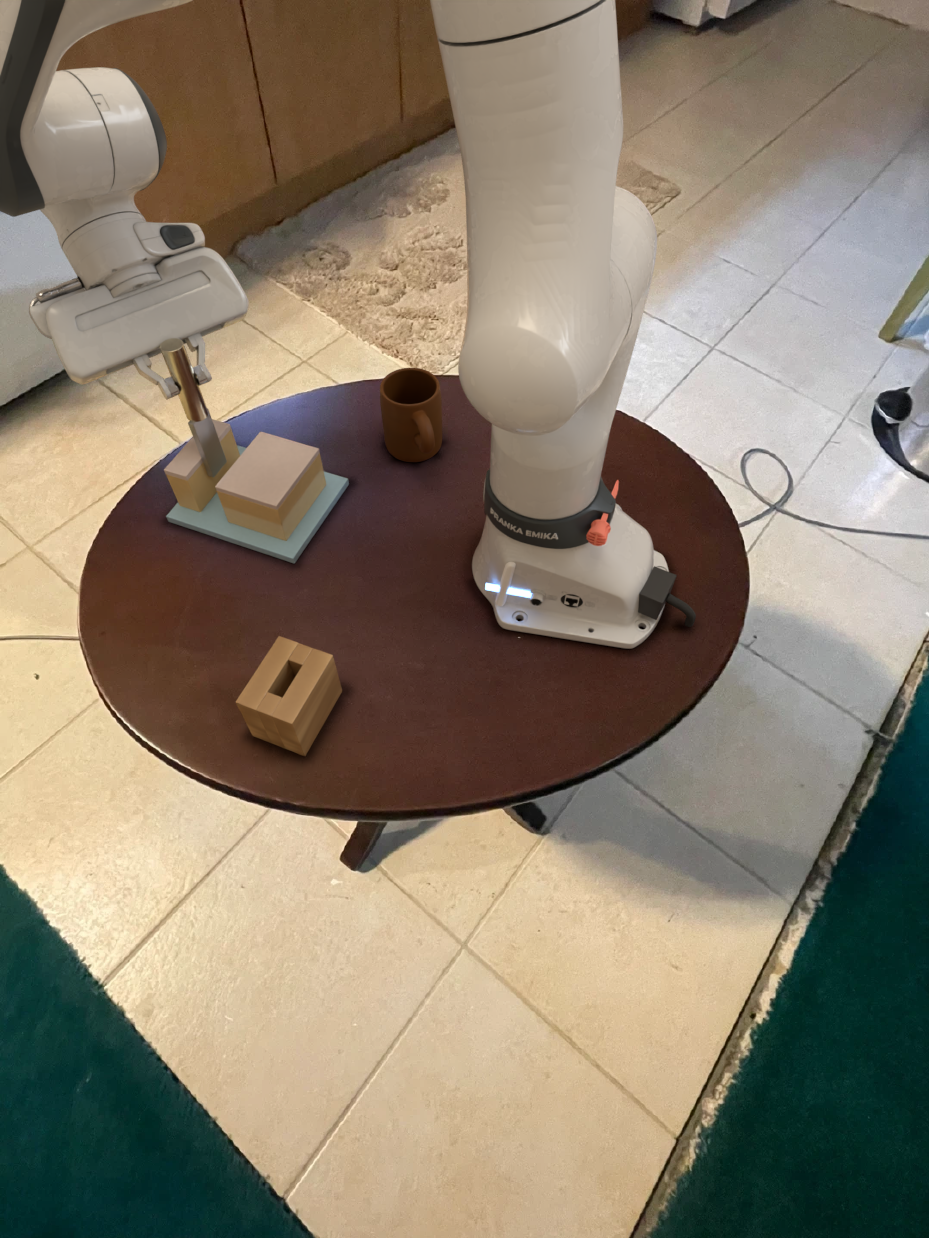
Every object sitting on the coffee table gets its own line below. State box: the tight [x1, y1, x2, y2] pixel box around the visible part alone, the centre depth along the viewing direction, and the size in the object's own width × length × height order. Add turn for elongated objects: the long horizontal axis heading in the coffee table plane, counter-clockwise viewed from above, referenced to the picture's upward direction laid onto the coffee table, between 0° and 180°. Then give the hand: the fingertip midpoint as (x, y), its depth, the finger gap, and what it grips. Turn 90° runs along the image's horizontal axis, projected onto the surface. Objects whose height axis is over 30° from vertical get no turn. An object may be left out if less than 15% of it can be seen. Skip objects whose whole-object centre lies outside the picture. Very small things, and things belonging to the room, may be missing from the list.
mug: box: [379, 367, 443, 463], centre depth 96 cm, size 12×8×9 cm, turn 18°
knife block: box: [235, 635, 343, 757], centre depth 75 cm, size 6×8×7 cm
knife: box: [160, 338, 227, 477], centre depth 85 cm, size 2×3×17 cm
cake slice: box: [163, 418, 240, 512], centre depth 93 cm, size 3×10×6 cm, turn 158°
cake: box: [165, 431, 350, 564], centre depth 92 cm, size 18×14×7 cm
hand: (189, 389), depth 82 cm, fingers closed on knife, 2 cm apart
